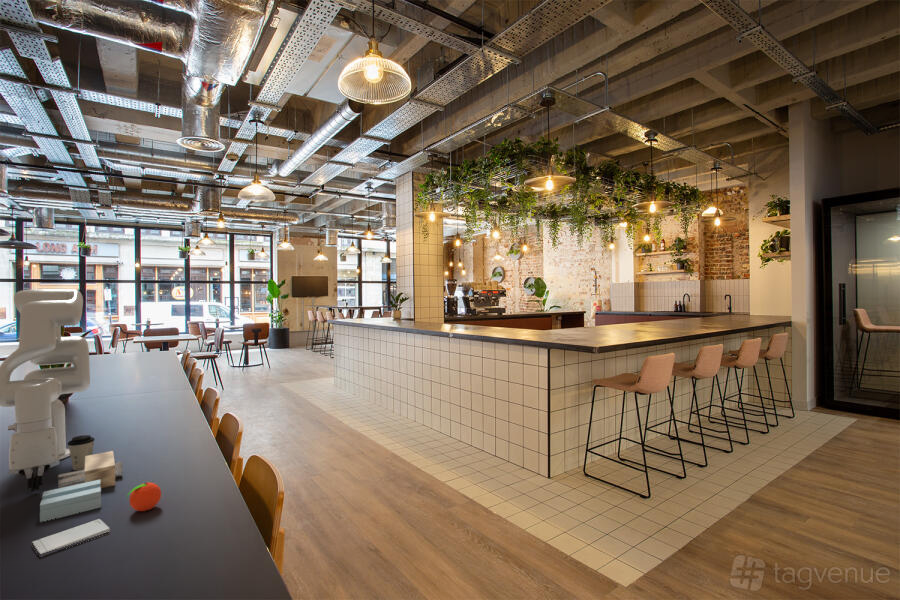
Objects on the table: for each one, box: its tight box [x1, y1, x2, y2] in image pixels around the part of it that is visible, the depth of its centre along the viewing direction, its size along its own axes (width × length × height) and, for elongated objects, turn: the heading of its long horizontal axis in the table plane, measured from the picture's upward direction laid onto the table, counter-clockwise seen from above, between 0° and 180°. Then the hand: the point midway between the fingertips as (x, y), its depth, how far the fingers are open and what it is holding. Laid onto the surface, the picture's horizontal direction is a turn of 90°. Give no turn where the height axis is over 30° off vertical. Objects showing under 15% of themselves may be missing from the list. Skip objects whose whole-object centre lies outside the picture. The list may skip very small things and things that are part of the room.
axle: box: [57, 461, 124, 489], centre depth 133 cm, size 15×4×4 cm, turn 129°
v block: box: [39, 480, 102, 523], centre depth 118 cm, size 12×12×4 cm
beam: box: [85, 450, 116, 489], centre depth 135 cm, size 7×16×6 cm, turn 39°
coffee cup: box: [67, 434, 95, 471], centre depth 145 cm, size 7×7×10 cm
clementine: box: [125, 482, 162, 512], centre depth 115 cm, size 8×7×7 cm
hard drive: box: [31, 518, 111, 554], centre depth 102 cm, size 2×8×12 cm
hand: (35, 489), depth 126 cm, fingers closed
